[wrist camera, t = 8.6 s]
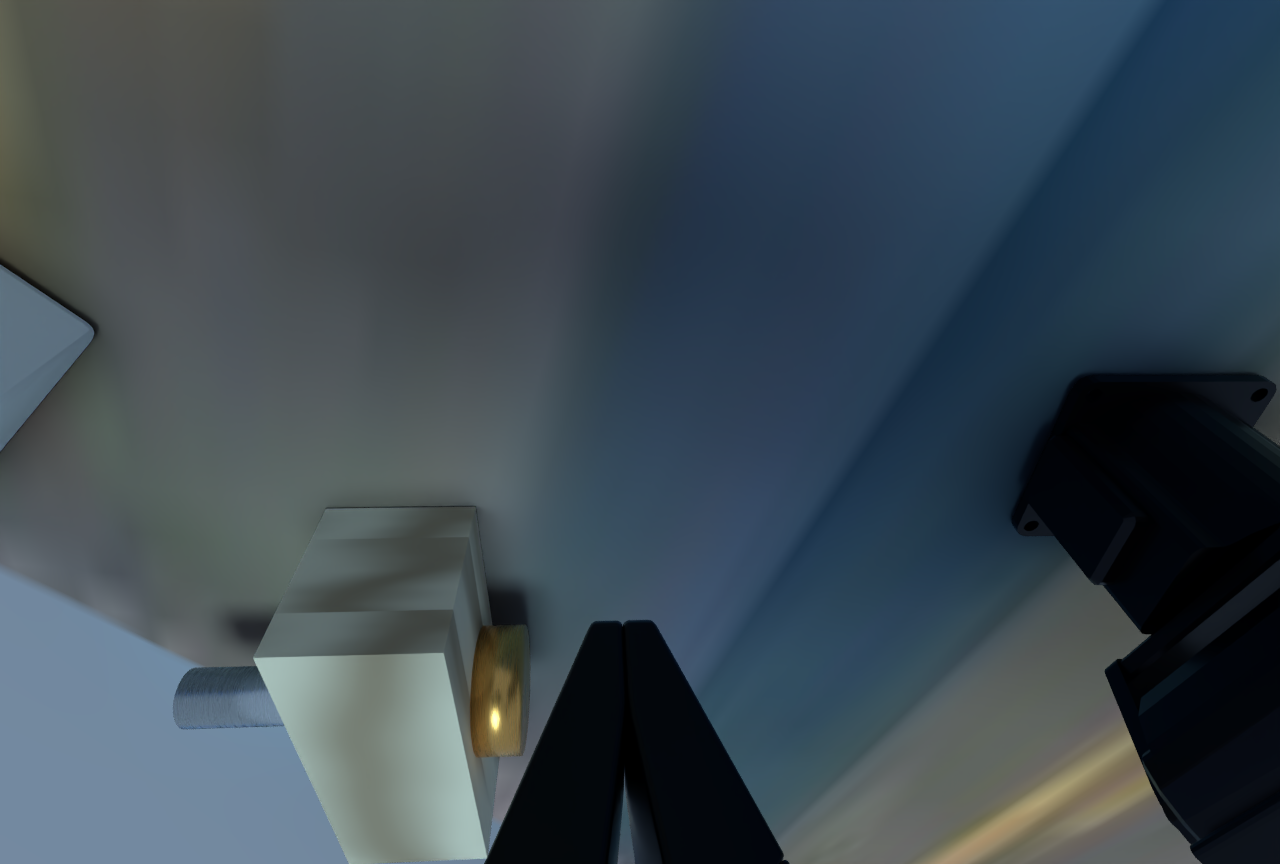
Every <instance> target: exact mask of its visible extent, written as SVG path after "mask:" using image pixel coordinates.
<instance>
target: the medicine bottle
mask: <svg viewBox="0 0 1280 864" xmlns="http://www.w3.org/2000/svg"><path fill="white" fill-rule="evenodd" d="M93 336H94V330H93V328H92V327H91V326H90V325H89V324H88V323H87V322H86V321H84V320H83V319H81V318H80V317H78V316H77V315H75V314H74V313H72V312H71V311H69V310H68V309H66V308H65V307H63V306H62V305H60V304H59V303H57V302H56V301H54V300H53V299H51V298H50V297H48V296H47V295H45V294H44V293H42V292H41V291H39V290H38V289H36V288H35V287H33V286H32V285H30V284H29V283H27V282H26V281H24V280H23V279H21V278H20V277H18V276H17V275H15V274H14V273H12V272H11V271H9V270H8V269H6V268H5V267H3V266H2V265H0V451H1V450H2V449H3V448H4V446H5V445H6V444H7V443H8V441H9V440H10V439H11V438H12V437H13V435H14V434H15V433H16V432H17V431H18V429H19V428H20V427H21V426H22V425H23V423H24V422H25V421H26V420H27V418H28V417H29V416H30V415H31V414H32V412H33V411H34V410H35V409H36V408H37V406H38V405H39V404H40V403H41V402H42V400H43V399H44V398H45V397H46V395H47V394H48V393H49V392H50V391H51V389H52V388H53V387H54V386H55V385H56V383H57V382H58V381H59V380H60V379H61V377H62V376H63V375H64V374H65V372H66V371H67V370H68V369H69V368H70V366H71V365H72V364H73V363H74V362H75V360H76V359H77V358H78V357H79V356H80V354H81V353H82V352H83V351H84V350H85V348H86V347H87V346H88V345H89V343H90V342H91V341H92V339H93Z"/></svg>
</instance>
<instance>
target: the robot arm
mask: <svg viewBox="0 0 1280 864" xmlns="http://www.w3.org/2000/svg"><path fill="white" fill-rule="evenodd" d="M1092 390H1093V391H1092ZM1090 391H1092V393H1090V394H1089V395H1087V394H1088V393H1089V392H1090ZM1275 392H1276V385H1275V384H1274V383H1273V382H1271V381H1270V380H1268V379H1267V378H1265V377H1263V376H1260V375H1093V376H1087V377H1085V378H1082V379H1080V380H1079V381H1078V382H1077V383H1076V384H1075V385H1074V386H1073V388H1072V389H1071V391H1070V393H1069V396H1068V398H1067V400H1066V402H1065V404H1064V407H1063V409H1062V411H1061V413H1060V415H1059V418H1058V420H1057V422H1056V424H1055V426H1054V429H1053V431H1052V433H1051V435H1050V437H1049V440H1048V442H1047V444H1046V446H1045V448H1044V450H1043V453H1042V455H1041V457H1040V459H1039V461H1038V464H1037V466H1036V468H1035V470H1034V472H1033V475H1032V477H1031V479H1030V481H1029V483H1028V486H1027V488H1026V490H1025V492H1024V494H1023V497H1022V499H1021V501H1020V503H1019V505H1018V508H1017V510H1016V512H1015V514H1014V516H1013V518H1012V524H1013V526H1014V528H1015V529H1016V530H1017V532H1018V533H1019V534H1020V535H1023V536H1055V537H1056V539H1057V540H1058V541H1059V542H1060V544H1061V545H1062V546H1063V547H1064V549H1065V550H1066V551H1067V552H1068V554H1069V555H1070V556H1071V557H1072V559H1073V560H1074V561H1075V562H1076V564H1077V565H1078V566H1079V568H1080V569H1081V570H1082V571H1083V573H1084V574H1085V575H1086V576H1087V578H1088V579H1089V580H1090V581H1091V582H1092V583H1093V584H1094V585H1103V586H1104V587H1105V588H1106V589H1107V591H1108V592H1109V593H1110V594H1111V596H1112V597H1113V598H1114V599H1115V601H1116V602H1117V603H1118V604H1119V606H1120V607H1121V608H1122V609H1123V610H1124V612H1125V613H1126V614H1127V615H1128V617H1129V618H1130V619H1131V620H1132V622H1133V623H1134V624H1135V625H1136V627H1137V628H1138V629H1139V630H1140V632H1141V633H1142V634H1152V635H1150V636H1149V637H1148V638H1147V639H1146V640H1145V641H1143V642H1142V643H1141V644H1140V645H1139V646H1138V647H1136V648H1135V649H1134V650H1133V651H1132V652H1130V653H1129V654H1128V655H1127V656H1126V657H1125V658H1123V659H1117V660H1116V661H1114V662H1113V663H1112V664H1111V665H1110V666H1109V667H1107V668H1106V669H1105V674H1106V677H1107V679H1108V682H1109V684H1110V687H1111V689H1112V691H1113V694H1114V696H1115V699H1116V701H1117V704H1118V706H1119V709H1120V711H1121V713H1122V716H1123V718H1124V721H1125V723H1126V726H1127V728H1128V731H1129V733H1130V735H1131V738H1132V740H1133V743H1134V745H1135V748H1136V750H1137V753H1138V755H1139V757H1140V760H1141V762H1142V765H1143V767H1144V770H1145V772H1146V775H1147V777H1148V779H1149V782H1150V784H1151V787H1152V789H1153V791H1154V793H1155V795H1156V797H1157V799H1158V801H1159V803H1160V805H1161V806H1162V808H1163V811H1164V813H1165V815H1166V817H1167V818H1168V820H1169V821H1170V822H1171V823H1172V824H1173V825H1174V826H1175V827H1176V828H1177V829H1178V830H1179V831H1180V832H1181V833H1182V835H1183V836H1184V837H1185V838H1186V839H1187V841H1188V842H1189V843H1190V844H1191V846H1190V849H1191V851H1192V853H1193V855H1194V856H1195V857H1196V858H1197V859H1198V860H1199V861H1200V862H1201V863H1202V864H1280V446H1278V445H1277V444H1276V443H1274V442H1273V441H1271V440H1270V439H1269V438H1267V437H1266V436H1264V435H1263V434H1262V433H1260V432H1259V431H1257V430H1256V429H1255V428H1253V426H1254V425H1255V423H1256V422H1257V420H1258V419H1259V417H1260V416H1261V414H1262V413H1263V411H1264V410H1265V408H1266V407H1267V405H1268V404H1269V402H1270V401H1271V399H1272V397H1273V396H1274V394H1275ZM624 773H625V790H626V799H627V807H628V815H629V822H630V829H631V836H632V843H633V850H634V857H635V864H789V862H788V861H787V860H783V857H784V854H783V852H782V850H781V848H780V846H779V844H778V843H777V841H776V839H775V837H774V836H773V834H772V832H771V830H770V828H769V827H768V825H767V823H766V821H765V819H764V818H763V816H762V814H761V812H760V810H759V809H758V807H757V805H756V803H755V801H754V800H753V798H752V796H751V794H750V792H749V791H748V789H747V787H746V785H745V784H744V782H743V780H742V778H741V776H740V775H739V773H738V771H737V769H736V767H735V766H734V764H733V762H732V760H731V758H730V757H729V755H728V753H727V751H726V749H725V748H724V746H723V744H722V742H721V740H720V739H719V737H718V735H717V733H716V732H715V730H714V728H713V726H712V724H711V723H710V721H709V719H708V717H707V715H706V714H705V712H704V710H703V708H702V706H701V705H700V703H699V701H698V699H697V697H696V696H695V694H694V692H693V690H692V688H691V687H690V685H689V683H688V681H687V680H686V678H685V676H684V674H683V672H682V671H681V669H680V667H679V665H678V663H677V662H676V660H675V658H674V656H673V654H672V653H671V651H670V649H669V647H668V645H667V644H666V642H665V640H664V638H663V636H662V635H661V633H660V631H659V629H658V628H657V626H656V624H655V623H654V622H653V621H651V620H628V621H626V622H624V624H623V626H622V624H621V622H619V621H595V622H593V623H592V624H591V625H590V627H589V629H588V631H587V634H586V636H585V638H584V640H583V643H582V645H581V647H580V649H579V652H578V654H577V656H576V658H575V661H574V663H573V665H572V667H571V670H570V672H569V674H568V676H567V679H566V681H565V683H564V685H563V688H562V690H561V692H560V694H559V697H558V699H557V701H556V703H555V706H554V708H553V710H552V712H551V715H550V717H549V719H548V721H547V724H546V726H545V728H544V730H543V733H542V735H541V737H540V739H539V742H538V744H537V746H536V748H535V751H534V753H533V755H532V757H531V760H530V762H529V764H528V766H527V769H526V771H525V773H524V775H523V778H522V780H521V782H520V784H519V787H518V789H517V791H516V793H515V796H514V798H513V800H512V802H511V805H510V807H509V809H508V811H507V814H506V816H505V818H504V820H503V823H502V825H501V827H500V830H499V832H498V834H497V836H496V839H495V841H494V843H493V845H492V847H491V850H490V852H489V854H488V856H487V859H486V861H485V863H484V864H617V862H618V851H619V840H620V829H621V818H622V807H623V791H624ZM782 860H783V861H782Z"/></svg>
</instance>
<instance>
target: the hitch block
mask: <svg viewBox="0 0 1280 864" xmlns="http://www.w3.org/2000/svg"><path fill="white" fill-rule="evenodd" d="M484 625H492V618H491V611H490V604H489V597H488V590H487V583H486V576H485V569H484V562H483V555H482V548H481V541H480V534H479V527H478V520H477V513H476V507H406V508H332V509H326V510H325V512H324V514H323V516H322V518H321V520H320V522H319V524H318V526H317V528H316V530H315V532H314V534H313V536H312V538H311V540H310V542H309V544H308V546H307V548H306V550H305V553H304V555H303V557H302V559H301V561H300V563H299V565H298V567H297V569H296V571H295V573H294V575H293V577H292V579H291V581H290V583H289V585H288V587H287V589H286V591H285V593H284V596H283V598H282V600H281V602H280V604H279V606H278V608H277V610H276V612H275V614H274V616H273V618H272V620H271V622H270V624H269V626H268V628H267V630H266V632H265V634H264V637H263V639H262V641H261V643H260V645H259V647H258V649H257V651H256V653H255V655H254V657H253V659H254V661H255V663H256V665H257V668H258V670H259V672H260V674H261V676H262V678H263V680H264V683H265V685H266V687H267V689H268V691H269V693H270V695H271V698H272V700H273V702H274V704H275V706H276V708H277V710H278V713H279V715H280V717H281V719H282V721H283V723H284V725H285V727H286V730H287V731H288V734H289V736H290V738H291V740H292V742H293V745H294V747H295V749H296V751H297V753H298V755H299V757H300V760H301V761H302V764H303V766H304V768H305V770H306V772H307V774H308V777H309V779H310V781H311V783H312V785H313V787H314V790H315V792H316V794H317V796H318V798H319V800H320V802H321V805H322V807H323V809H324V811H325V813H326V815H327V817H328V819H329V821H330V824H331V826H332V828H333V830H334V832H335V835H336V837H337V839H338V840H339V843H340V845H341V847H342V849H343V852H344V854H345V856H346V858H347V860H348V862H349V864H372V863H393V862H394V863H396V862H415V861H416V862H417V861H439V860H463V859H484V858H487V856H488V849H489V841H490V833H491V824H492V816H493V808H494V799H495V791H496V782H497V774H498V766H499V757H483V758H477V757H476V756H475V754H474V752H473V747H472V740H471V728H470V696H471V679H472V669H473V660H474V653H475V648H476V643H477V638H478V635H479V632H480V629H481V628H482V626H484Z"/></svg>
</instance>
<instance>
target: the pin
mask: <svg viewBox="0 0 1280 864" xmlns="http://www.w3.org/2000/svg"><path fill="white" fill-rule="evenodd" d="M529 701H530V645H529V634H528V628H527V625H526V624H525V625H484V626H482V628H481V629H480V632H479V635H478V638H477V643H476V648H475V653H474V660H473V669H472V679H471V696H470V728H471V740H472V747H473V752H474V754H475V756H476V757H477V758H483V757H511V756H522V755H523V753H524V749H525V744H526V738H527V729H528V718H529ZM173 715H174V720H175V722H176V724H177V726H178V727H179V728H181V729H211V728H241V727H272V726H285V725H284V723H283V721H282V719H281V717H280V715H279V713H278V710H277V708H276V706H275V704H274V702H273V700H272V698H271V695H270V693H269V691H268V689H267V687H266V685H265V683H264V680H263V678H262V676H261V674H260V672H259V670H258V668H257V666H241V667H204V668H193V669H191V670H189V671H188V672H187V673H186V674H185V675H184V676H183V678H182V679H181V681H180V683H179V685H178V688H177V690H176V694H175V697H174V703H173Z"/></svg>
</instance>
